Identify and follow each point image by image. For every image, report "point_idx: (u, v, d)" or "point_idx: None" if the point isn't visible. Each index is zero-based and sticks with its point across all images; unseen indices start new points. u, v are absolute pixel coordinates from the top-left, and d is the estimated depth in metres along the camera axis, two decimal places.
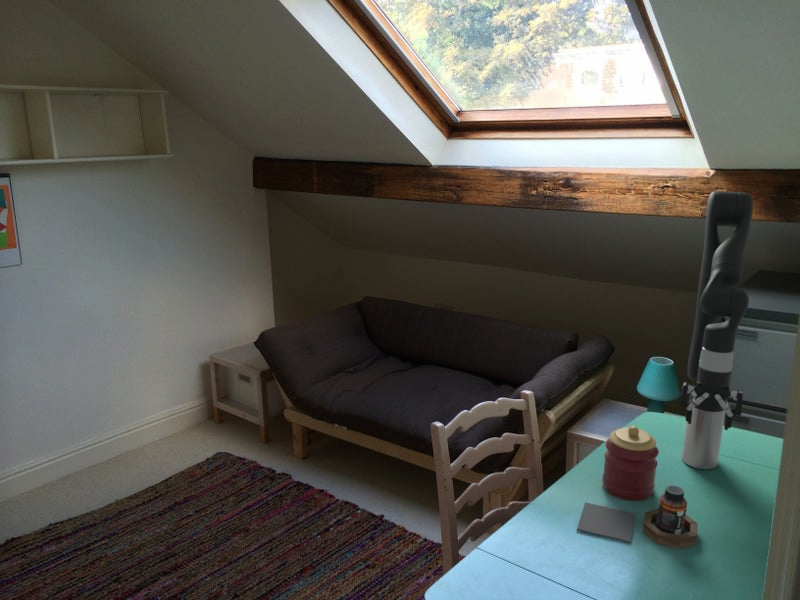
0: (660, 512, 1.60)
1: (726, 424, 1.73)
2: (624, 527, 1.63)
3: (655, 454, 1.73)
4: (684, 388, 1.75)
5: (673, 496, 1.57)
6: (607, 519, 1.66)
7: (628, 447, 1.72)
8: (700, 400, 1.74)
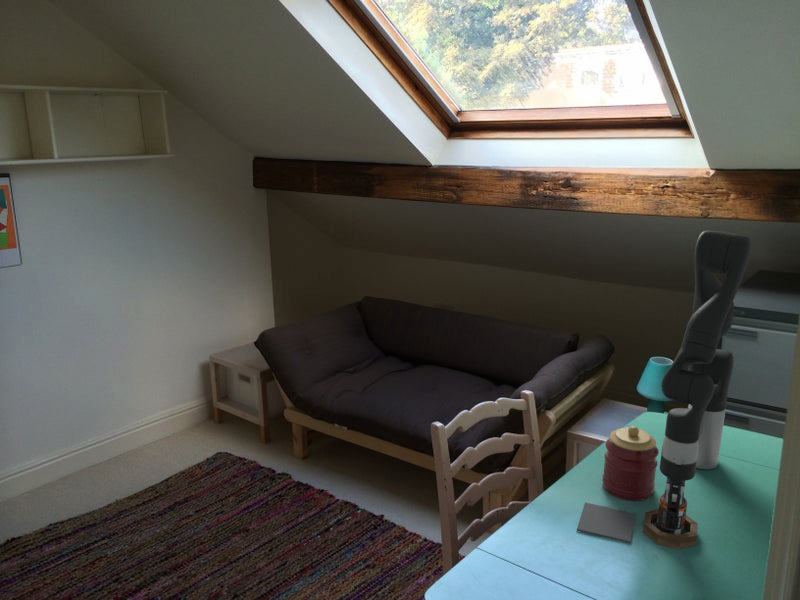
0: (660, 512, 1.60)
1: None
2: (624, 527, 1.63)
3: (655, 454, 1.73)
4: (680, 498, 1.52)
5: None
6: (607, 519, 1.66)
7: (628, 447, 1.72)
8: None
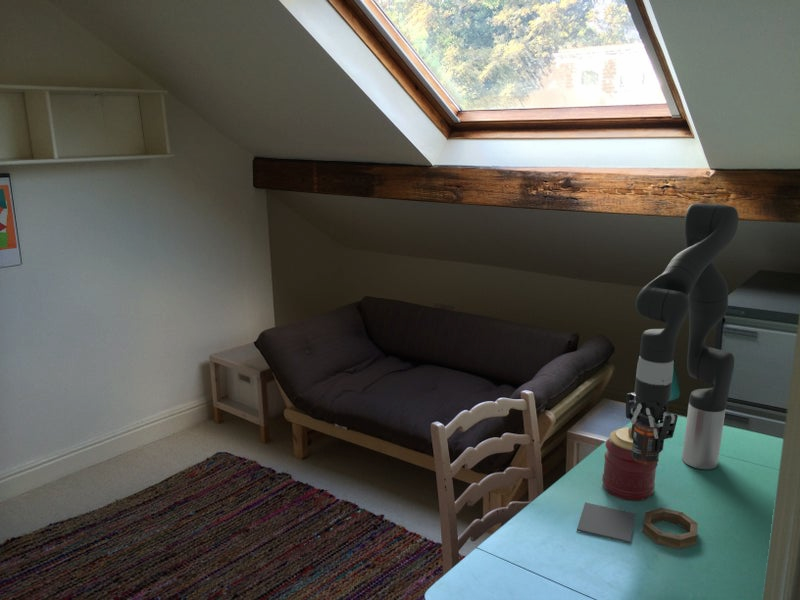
0: (643, 442, 1.54)
1: None
2: (624, 527, 1.63)
3: None
4: None
5: None
6: (607, 519, 1.66)
7: (628, 447, 1.72)
8: None
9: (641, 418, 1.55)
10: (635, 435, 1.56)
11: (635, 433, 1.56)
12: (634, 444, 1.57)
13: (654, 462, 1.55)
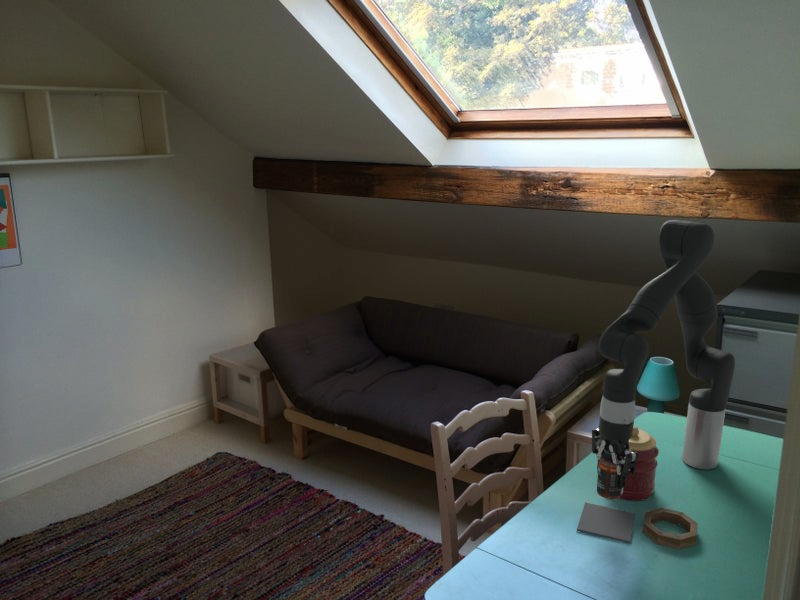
0: (607, 477, 1.59)
1: None
2: (624, 527, 1.63)
3: (655, 454, 1.73)
4: None
5: None
6: (607, 519, 1.66)
7: None
8: None
9: (605, 454, 1.60)
10: (599, 470, 1.61)
11: (599, 468, 1.61)
12: (598, 479, 1.62)
13: (617, 497, 1.60)
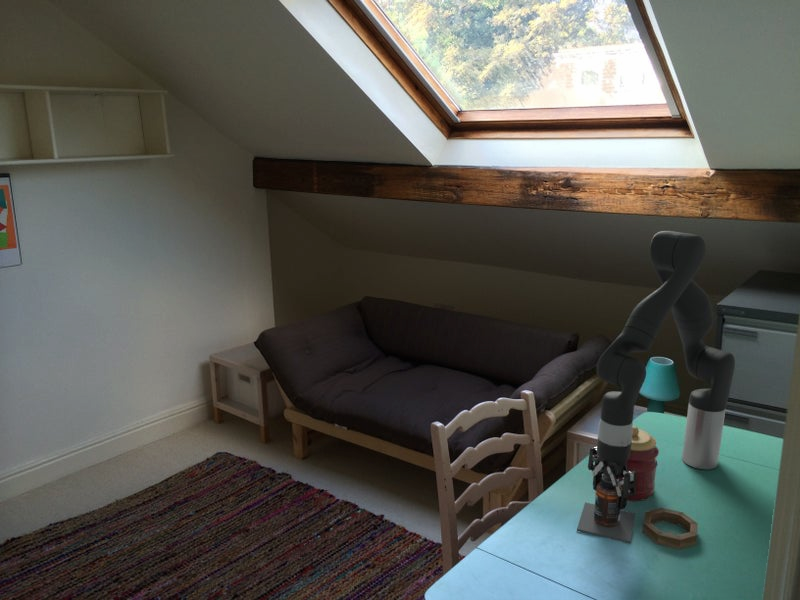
0: (604, 505, 1.62)
1: None
2: (624, 527, 1.63)
3: (655, 454, 1.73)
4: None
5: None
6: None
7: None
8: None
9: (602, 482, 1.62)
10: (596, 497, 1.63)
11: (596, 496, 1.63)
12: (596, 506, 1.64)
13: (614, 524, 1.63)
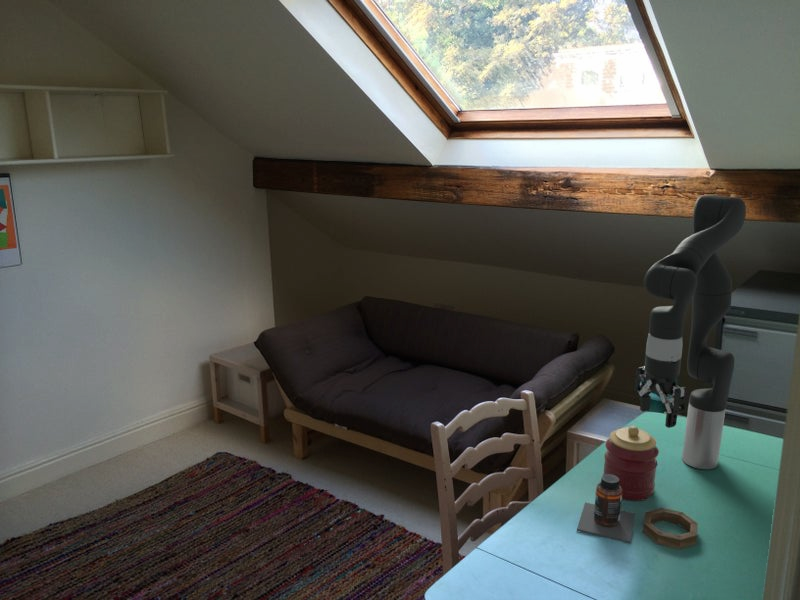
0: (604, 505, 1.62)
1: None
2: (624, 527, 1.63)
3: (655, 454, 1.73)
4: None
5: (615, 485, 1.61)
6: None
7: (628, 447, 1.72)
8: None
9: (602, 482, 1.62)
10: (596, 497, 1.63)
11: (596, 496, 1.63)
12: (596, 506, 1.64)
13: (614, 524, 1.63)
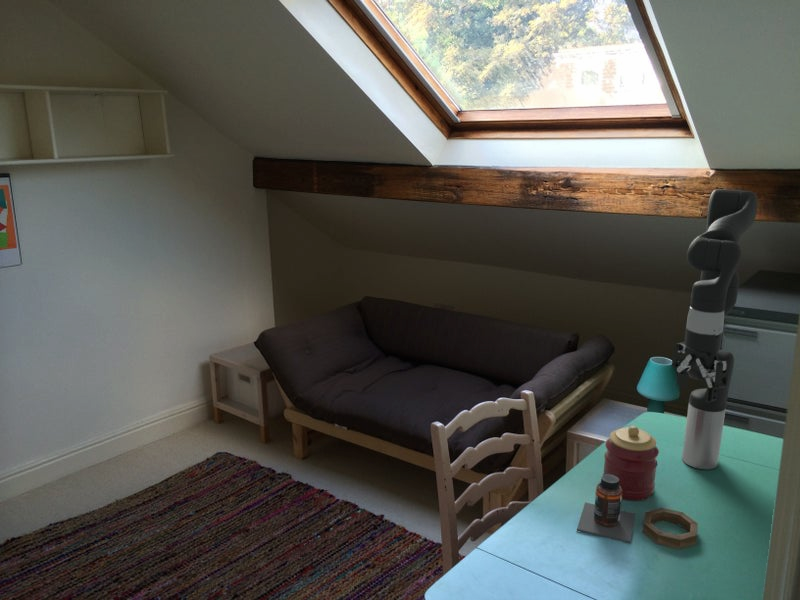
0: (604, 505, 1.62)
1: None
2: (624, 527, 1.63)
3: (655, 454, 1.73)
4: None
5: (615, 485, 1.61)
6: None
7: (628, 447, 1.72)
8: None
9: (602, 482, 1.62)
10: (596, 498, 1.63)
11: (596, 496, 1.63)
12: (596, 506, 1.64)
13: (614, 524, 1.63)
